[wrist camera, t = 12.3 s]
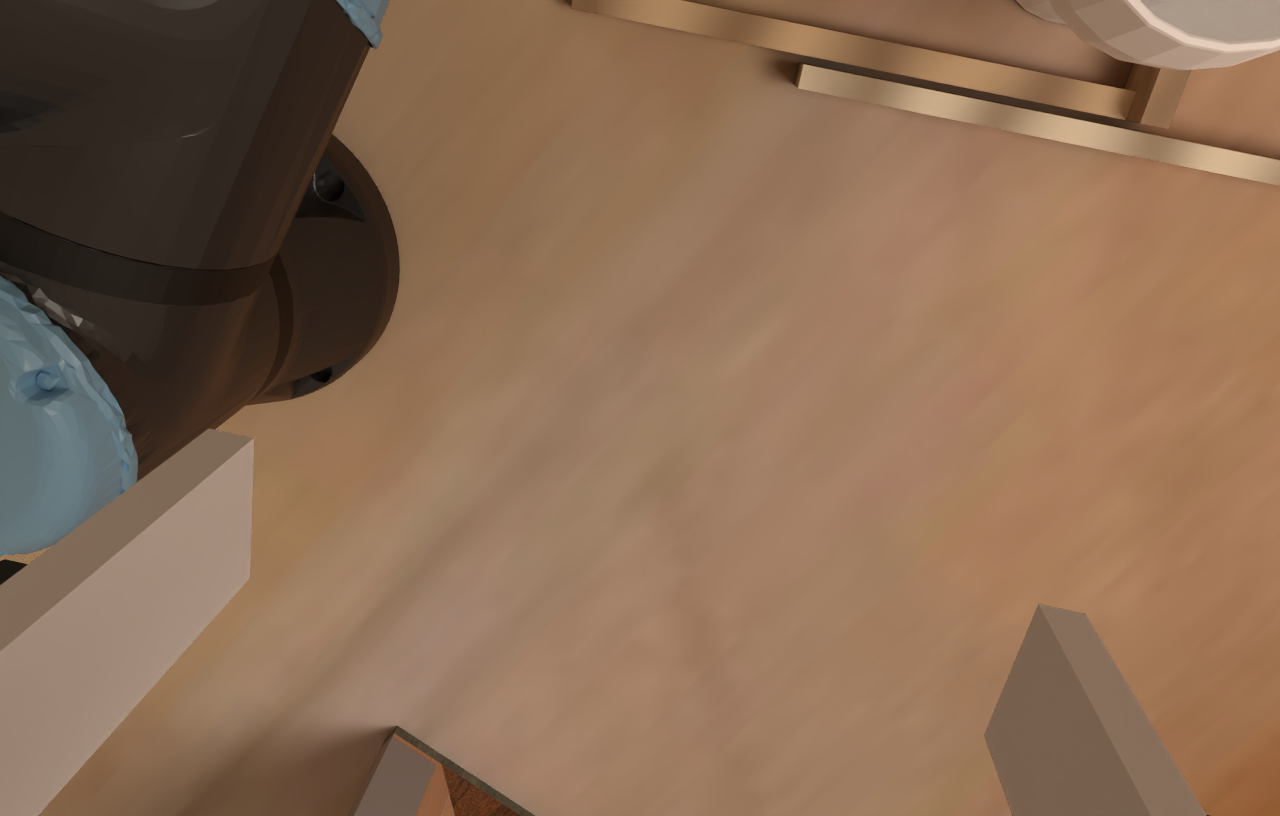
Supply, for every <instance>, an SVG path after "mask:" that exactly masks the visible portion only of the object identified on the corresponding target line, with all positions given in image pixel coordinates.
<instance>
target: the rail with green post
mask: <svg viewBox="0 0 1280 816" xmlns="http://www.w3.org/2000/svg"><path fill="white" fill-rule="evenodd" d="M571 8H572V9H577V10H582V11H587V12H592V13H597V14H602V15H607V16H612V17H617V18H622V19H627V20H631V21H636V22H641V23H646V24H651V25H656V26H661V27H666V28H671V29H676V30H681V31H686V32H691V33H696V34H701V35H706V36H711V37H716V38H721V39H726V40H731V41H736V42H741V43H746V44H751V45H755V46H760V47H765V48H770V49H775V50H780V51H785V52H790V53H795V54H800V55H805V56H810V57H815V58H820V59H825V60H830V61H835V62H840V63H845V64H850V65H855V66H860V67H865V68H870V69H874V70H879V71H884V72H889V73H894V74H899V75H904V76H909V77H914V78H919V79H924V80H929V81H934V82H939V83H944V84H949V85H954V86H959V87H964V88H969V89H974V90H979V91H984V92H989V93H994V94H998V95H1003V96H1008V97H1013V98H1018V99H1023V100H1028V101H1033V102H1038V103H1043V104H1048V105H1053V106H1058V107H1063V108H1068V109H1073V110H1078V111H1083V112H1088V113H1093V114H1098V115H1103V116H1108V117H1113V118H1118V119H1122V120H1127V121H1132V122H1136V123H1141V124H1146V125H1151V126H1156V127H1160V128H1165V129H1169V126H1170V123H1171V121H1172V118H1173V116H1174V113H1175V111H1176V108H1177V105H1178V103H1179V100H1180V98H1181V95H1182V93H1183V90H1184V87H1185V85H1186V82H1187V80H1188V77H1189V75H1190V72H1191V70H1176V69H1166V68H1157V67H1152V66H1147V65H1142V64H1137V63H1133V66H1132V69H1131V71H1130V74H1129V77H1128V80H1127V82H1126V85H1125V88H1124V89H1120V88H1115V87H1110V86H1105V85H1100V84H1095V83H1090V82H1085V81H1080V80H1075V79H1070V78H1065V77H1060V76H1055V75H1050V74H1045V73H1040V72H1036V71H1031V70H1026V69H1021V68H1016V67H1011V66H1006V65H1001V64H996V63H991V62H986V61H981V60H976V59H971V58H966V57H961V56H956V55H951V54H946V53H941V52H936V51H931V50H926V49H921V48H916V47H911V46H906V45H901V44H896V43H891V42H886V41H881V40H876V39H871V38H866V37H861V36H856V35H851V34H847V33H842V32H837V31H832V30H827V29H822V28H817V27H812V26H807V25H802V24H797V23H792V22H787V21H782V20H777V19H772V18H767V17H762V16H757V15H752V14H747V13H742V12H737V11H732V10H727V9H722V8H717V7H712V6H707V5H702V4H697V3H692V2H687V1H682V0H572V6H571Z"/></svg>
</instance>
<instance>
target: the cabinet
mask: <svg viewBox="0 0 1280 816" xmlns="http://www.w3.org/2000/svg"><path fill="white" fill-rule="evenodd" d="M348 816H535V815H533V814H532V813H530V812H529V811H527V810H525V809H524V808H522V807H521V806H519V805H518V804H516V803H515V802H513V801H512V800H510V799H509V798H507V797H506V796H504V795H503V794H501V793H499V792H498V791H496V790H495V789H493V788H492V787H490V786H489V785H487V784H486V783H484V782H483V781H481V780H480V779H478V778H477V777H475V776H473V775H472V774H470V773H469V772H467V771H466V770H464V769H463V768H461V767H460V766H458V765H457V764H455V763H454V762H452V761H451V760H449V759H447V758H446V757H444V756H443V755H441V754H440V753H438V752H437V751H435V750H434V749H432V748H431V747H429V746H428V745H426V744H425V743H423V742H421V741H420V740H418V739H417V738H415V737H414V736H412V735H411V734H409V733H408V732H406V731H405V730H403V729H402V728H400V727H399V726H397V727H396V728H395V730H394V731H393V732H392V733H391V734H390V735H389V736H388V738H387V739H386V740H385V741H384V743H383V745H382V747H381V749H380V751H379V753H378V755H377V757H376V759H375V761H374V763H373V765H372V767H371V769H370V771H369V774H368V776H367V778H366V780H365V782H364V784H363V786H362V788H361V790H360V792H359V794H358V796H357V798H356V800H355V802H354V804H353V806H352V808H351V810H350V812H349V814H348Z"/></svg>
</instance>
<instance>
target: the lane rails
mask: <svg viewBox="0 0 1280 816" xmlns="http://www.w3.org/2000/svg"><path fill="white" fill-rule="evenodd" d="M795 86H796V87H797V88H799V89H804V90H809V91H813V92H818V93H823V94H828V95H833V96H838V97H843V98H848V99H853V100H858V101H863V102H868V103H873V104H878V105H883V106H888V107H893V108H898V109H902V110H907V111H912V112H917V113H922V114H927V115H932V116H937V117H942V118H947V119H952V120H957V121H962V122H967V123H972V124H977V125H982V126H986V127H991V128H996V129H1001V130H1006V131H1011V132H1016V133H1021V134H1026V135H1031V136H1036V137H1041V138H1046V139H1051V140H1056V141H1061V142H1066V143H1071V144H1075V145H1080V146H1085V147H1090V148H1095V149H1100V150H1105V151H1110V152H1115V153H1120V154H1125V155H1130V156H1135V157H1140V158H1145V159H1150V160H1155V161H1160V162H1164V163H1169V164H1174V165H1179V166H1184V167H1189V168H1194V169H1199V170H1204V171H1209V172H1214V173H1219V174H1224V175H1229V176H1234V177H1239V178H1244V179H1248V180H1253V181H1258V182H1263V183H1268V184H1273V185H1278V186H1280V159H1275V158H1270V157H1265V156H1260V155H1255V154H1250V153H1245V152H1240V151H1235V150H1230V149H1225V148H1220V147H1215V146H1211V145H1206V144H1201V143H1196V142H1191V141H1186V140H1181V139H1176V138H1171V137H1166V136H1161V135H1156V134H1151V133H1146V132H1141V131H1136V130H1131V129H1126V128H1121V127H1116V126H1111V125H1106V124H1101V123H1097V122H1092V121H1087V120H1082V119H1077V118H1072V117H1067V116H1062V115H1057V114H1052V113H1047V112H1042V111H1037V110H1032V109H1027V108H1022V107H1017V106H1012V105H1007V104H1002V103H997V102H992V101H988V100H983V99H978V98H973V97H968V96H963V95H958V94H953V93H948V92H943V91H938V90H933V89H928V88H923V87H918V86H913V85H908V84H903V83H898V82H893V81H888V80H883V79H878V78H874V77H869V76H864V75H859V74H854V73H849V72H844V71H839V70H834V69H829V68H824V67H819V66H814V65H809V64H804V63H800V65H799V70H798V74H797V78H796V82H795Z"/></svg>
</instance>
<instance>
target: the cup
mask: <svg viewBox="0 0 1280 816" xmlns="http://www.w3.org/2000/svg"><path fill="white" fill-rule="evenodd" d="M1016 1H1017V2H1018V3H1019V4H1020V5H1021V6H1022V7H1023V8H1024V10H1026V11H1028V12H1030V13H1032V14H1034V15H1035V16H1037V17H1039V18H1041V19H1043V20H1045V21H1050V22H1055V23H1060V24H1065V25H1068V26H1069V27H1070V29H1071V30H1072V31H1073V32H1074V33H1075V34H1076V35H1077V36H1078V37H1079V38H1080V39H1081V40H1082V41H1084V42H1085V43H1087V44H1089V45H1091V46H1093V47H1095V48H1097V49H1098V50H1100V51H1102V52H1104V53H1106V54H1108V55H1110V56H1111V57H1113V58H1115V59H1117V60H1121V61H1127V62H1132V63H1137V64H1142V65H1147V66H1152V67H1157V68H1166V69H1176V70H1192V69H1205V68H1219V67H1230V66H1233V65H1236V64H1239V63H1242V62H1245V61H1248V60H1251V59H1254V58H1257V57H1260V56H1263V55H1266V54H1269V53H1272V52H1275V51H1278V50H1280V0H1016Z"/></svg>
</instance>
